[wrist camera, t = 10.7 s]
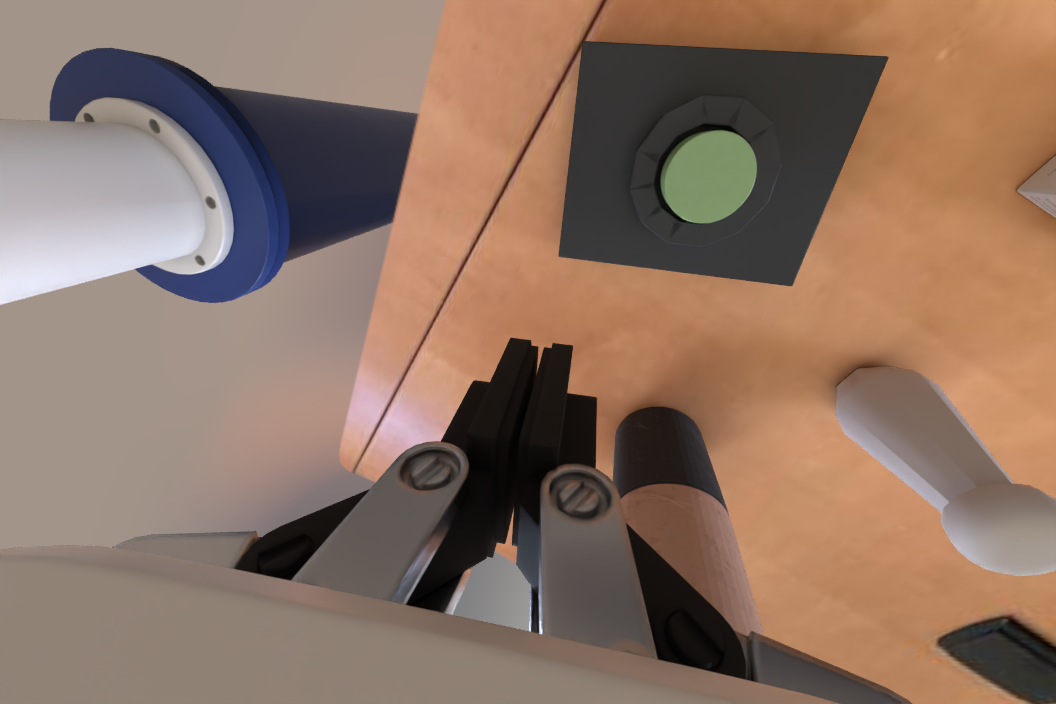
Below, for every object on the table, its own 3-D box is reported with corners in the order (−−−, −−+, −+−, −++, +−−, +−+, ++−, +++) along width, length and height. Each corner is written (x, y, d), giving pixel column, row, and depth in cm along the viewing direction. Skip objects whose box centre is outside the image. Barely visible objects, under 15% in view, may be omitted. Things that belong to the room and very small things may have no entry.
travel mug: (719, 416, 32) (844, 749, 14) (686, 481, 35) (753, 807, 18) (625, 394, 32) (635, 685, 15) (602, 460, 36) (590, 754, 19)
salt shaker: (802, 398, 29) (916, 557, 18) (868, 339, 27) (1051, 485, 15) (868, 433, 30) (1020, 611, 19) (940, 379, 27) (1171, 551, 16)
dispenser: (563, 246, 28) (554, 265, 23) (586, 52, 22) (579, 31, 18) (774, 271, 26) (806, 298, 21) (855, 67, 20) (918, 47, 16)
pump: (652, 212, 21) (655, 218, 20) (671, 127, 19) (676, 126, 18) (729, 220, 21) (740, 228, 19) (756, 134, 19) (770, 133, 17)
